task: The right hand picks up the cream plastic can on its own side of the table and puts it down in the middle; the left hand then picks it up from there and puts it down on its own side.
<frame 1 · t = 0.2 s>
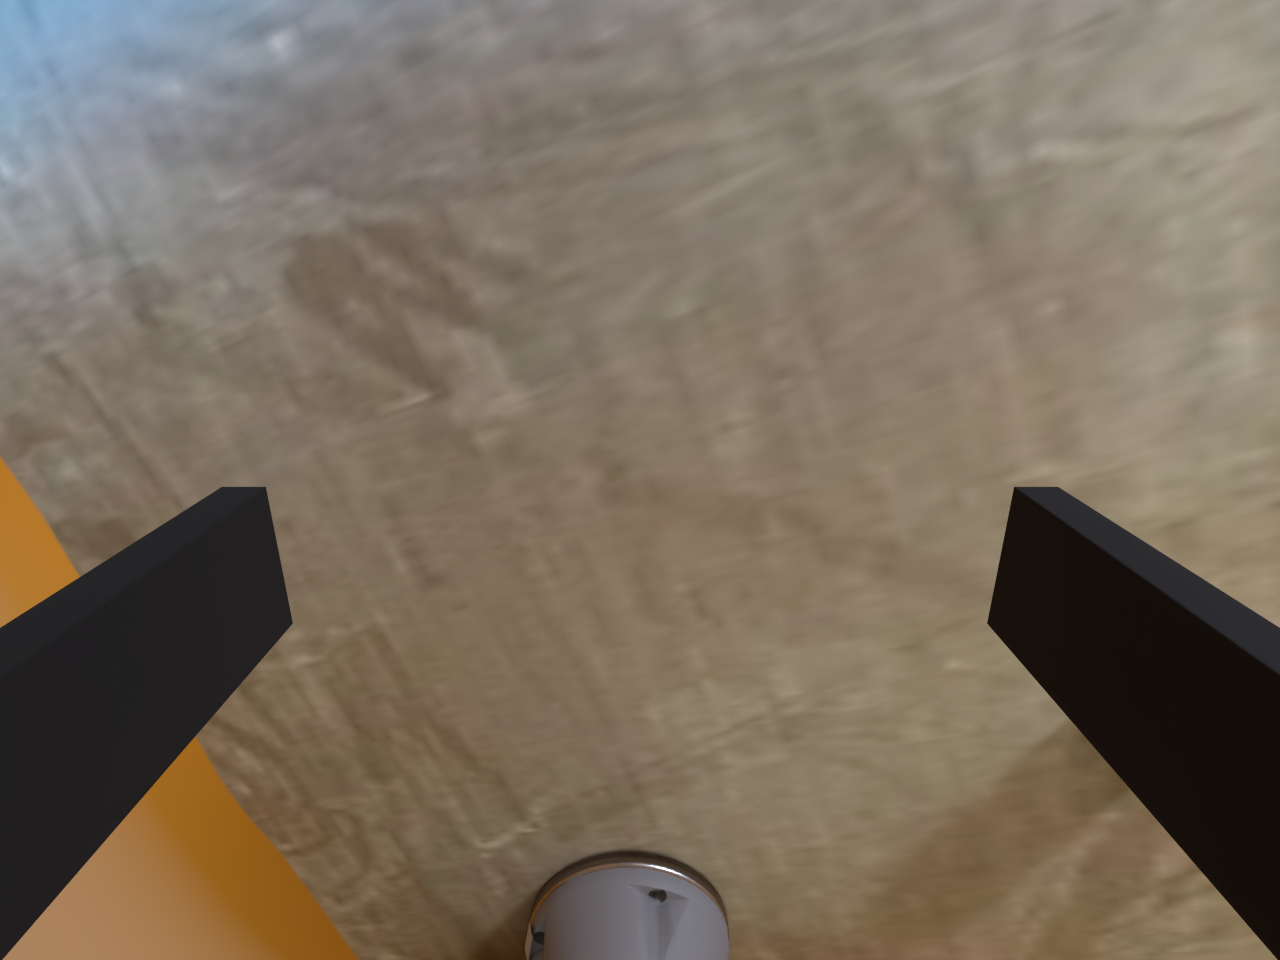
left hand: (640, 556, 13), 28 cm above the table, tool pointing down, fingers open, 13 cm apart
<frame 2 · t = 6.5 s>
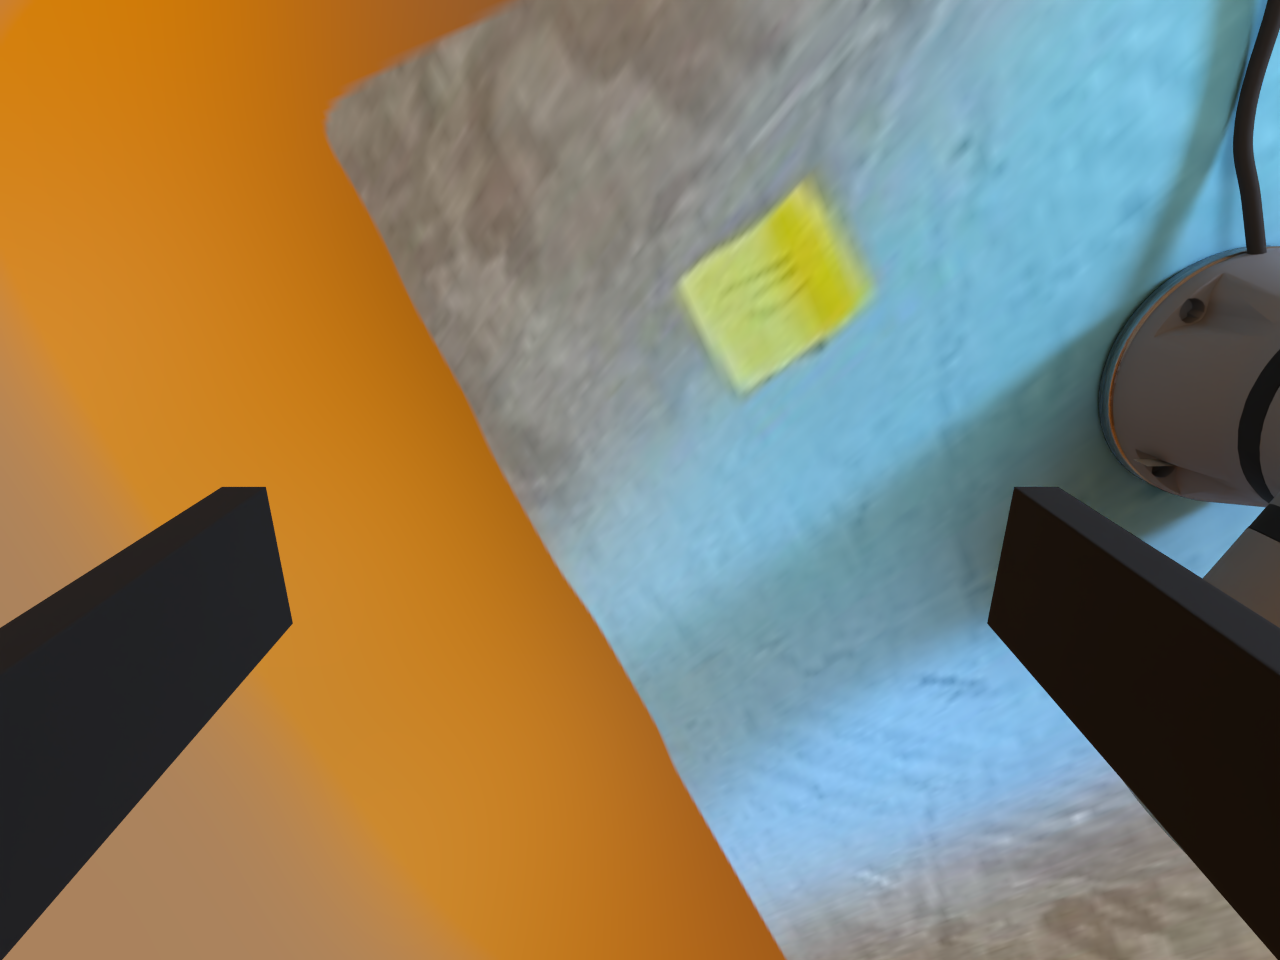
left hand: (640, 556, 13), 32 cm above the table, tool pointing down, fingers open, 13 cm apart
when the right hand's fingers open (2 cm above the table, at t = 14.3 s): can drops 1 cm, on the table.
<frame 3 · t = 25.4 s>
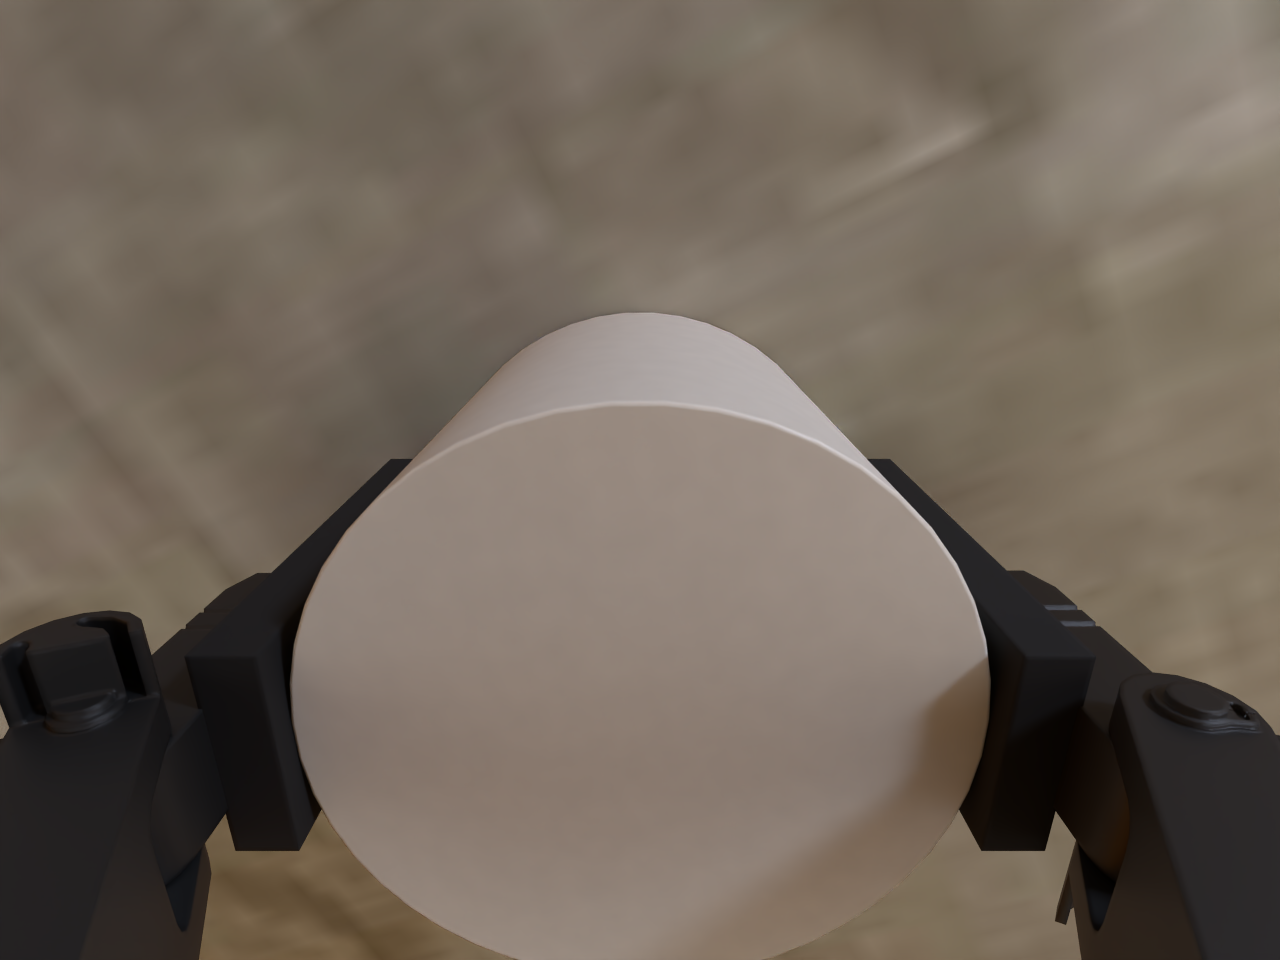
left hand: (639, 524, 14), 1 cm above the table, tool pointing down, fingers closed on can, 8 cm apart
can: (640, 508, 15), on the table, touching left hand
when the left hand's fingers open (2 cm above the table, at t = 31.5 s): can drops 1 cm, on the table.
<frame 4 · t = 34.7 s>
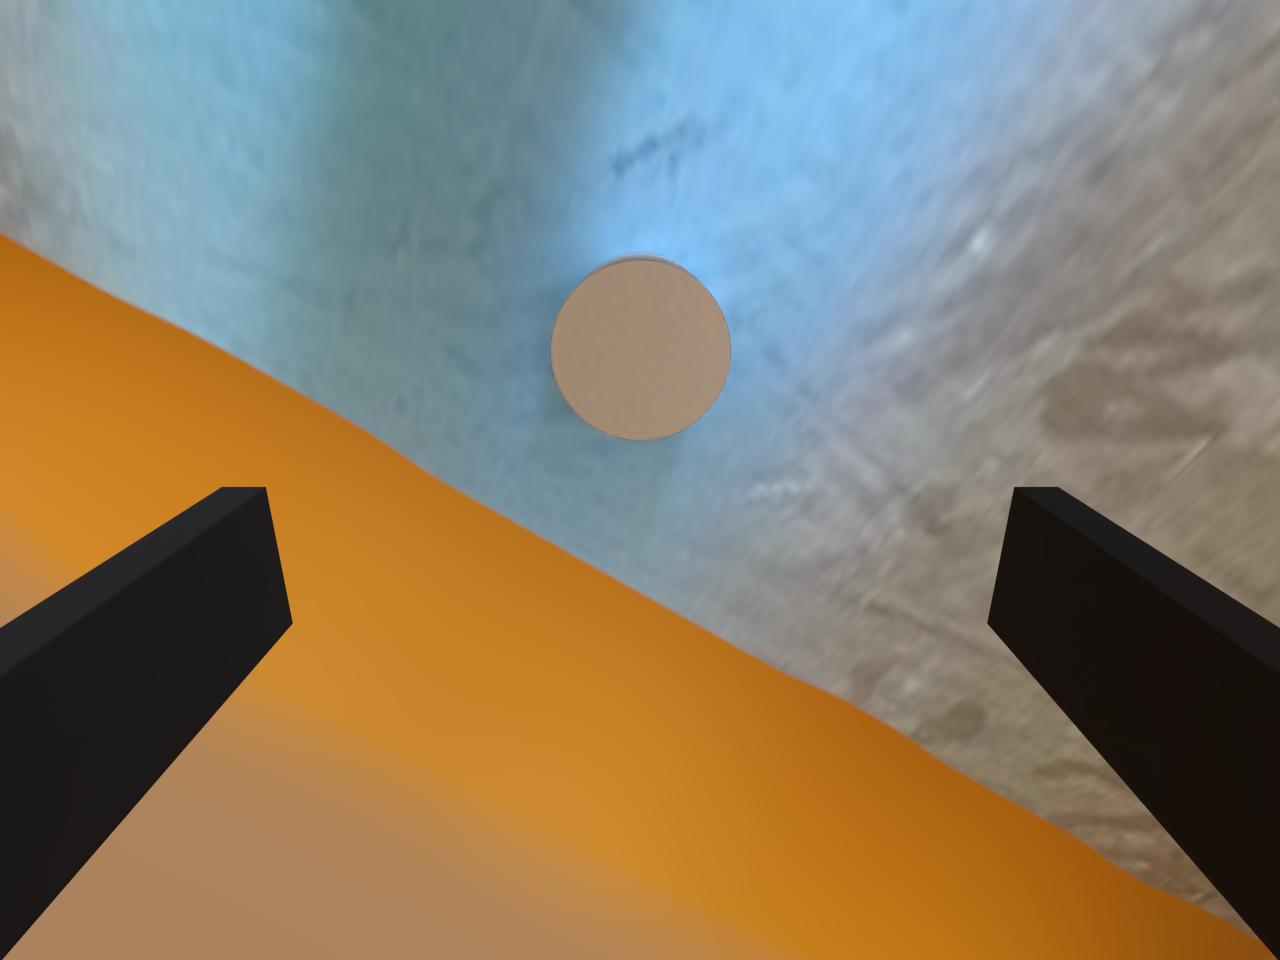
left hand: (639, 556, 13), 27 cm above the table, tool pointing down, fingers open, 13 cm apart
can: (640, 331, 38), on the table
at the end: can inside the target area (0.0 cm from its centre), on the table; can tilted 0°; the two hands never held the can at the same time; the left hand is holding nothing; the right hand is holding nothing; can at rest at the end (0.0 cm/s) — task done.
